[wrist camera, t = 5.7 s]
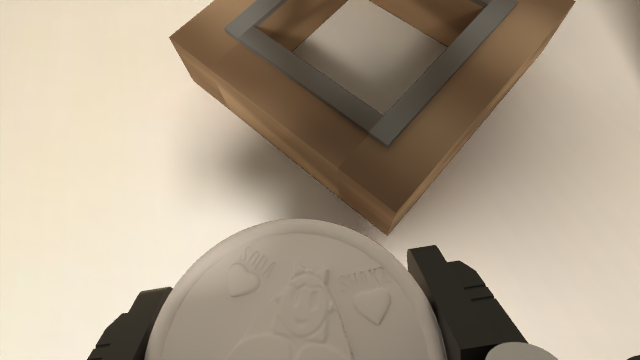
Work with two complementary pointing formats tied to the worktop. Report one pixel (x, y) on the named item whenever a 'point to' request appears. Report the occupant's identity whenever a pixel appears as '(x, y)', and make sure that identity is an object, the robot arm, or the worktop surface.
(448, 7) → the socket block
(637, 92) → the worktop surface
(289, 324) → the smoothie
